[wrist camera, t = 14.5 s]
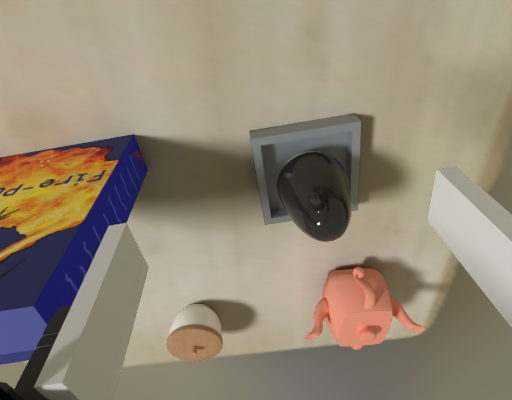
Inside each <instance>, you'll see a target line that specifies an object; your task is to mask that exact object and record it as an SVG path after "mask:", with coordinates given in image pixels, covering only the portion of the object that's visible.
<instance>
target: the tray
mask: <svg viewBox="0 0 512 400" xmlns="http://www.w3.org/2000/svg"><path fill="white" fill-rule="evenodd" d="M249 132H250V139H251V145H252V151H253V157H254V163H255V169H256V175H257V181H258V187H259V193H260V198H261V204H262V210H263V216H264V222H265V225H268V224H274V223H280V222H286V221H293V220H292V219H291V218H290V217H289V215H288V214H287V212H286V211H285V209H284V207H283V205H282V203H281V201H280V199H279V196H278V193H277V179H278V176H279V173H280V171H281V170H282V168H283V166H284V165H285V164H286V162H287V161H288V160H289V159H290V158H292V157H293V156H295V155H296V154H299V153H301V152H305V151H319V152H323V153H327V154H329V155H331V156H333V157H335V158H336V159H337V160H338V161H339V162H340V163H341V165H342V166H343V168H344V170H345V172H346V175H347V178H348V182H349V186H350V191H351V202H352V211H355V210H358V192H359V165H360V139H361V120H360V119H359V118H358V117H357V116H356V115H355V114H348V115H342V116H336V117H330V118H324V119H318V120H312V121H306V122H300V123H294V124H288V125H282V126H276V127H270V128H264V129H258V130H252V131H249Z"/></svg>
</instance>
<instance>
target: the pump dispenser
mask: <svg viewBox="0 0 512 400" xmlns="http://www.w3.org/2000/svg"><path fill="white" fill-rule="evenodd" d="M277 193H278V196H279V199H280V201H281V203H282V205H283V207H284V209H285V211H286V212H287V214H288V215H289V217H290V218H291V219H292V220H293V222H294V223H295V224H296V225H297V226H298V228H299V229H300V230H302V231H303V232H304V233H305V234H306V235H308V236H309V237H311V238H313V239H315V240H318V241H322V242H329V241H333V240H336V239H338V238H339V237H341V236H342V235H343V234H344V232H345V231H346V229H347V227H348V225H349V222H350V218H351V211H352V202H351V191H350V186H349V182H348V178H347V175H346V172H345V170H344V168H343V166H342V165H341V163H340V162H339V161H338V160H337V159H336V158H335V157H333V156H331V155H329V154H327V153H323V152H319V151H305V152H301V153H299V154H296V155H295V156H293V157H292V158H290V159H289V160H288V161H287V162H286V164H285V165H284V166H283V168H282V170H281V171H280V173H279V176H278V179H277Z"/></svg>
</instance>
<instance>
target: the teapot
mask: <svg viewBox="0 0 512 400" xmlns="http://www.w3.org/2000/svg"><path fill="white" fill-rule="evenodd" d="M393 316H395V317H396V318H397V319H398V320H399V321H400V322H401V323H402V324H403V325H404V326H405V327H407V328H408V329H410V330H413V331H425V330H426V329H425V328H424V327H422V326H420V325H418V324H416V323H414V322H413V321H412V320H411V319H410V318H409V317H408V315H407V314H406V312H405V311H404V309H403V307H402V306H401V304H400V303H399V302H398V301H397V300H396V299H395V298H393V297H392V296H390V294H389V291H388V287H387V284H386V282H385V279H384V277H383V276H382V274H381V273H380V272H378V271H377V270H376V269H372V268H361V267H356V268H355V269H347V270H331V271H330V272H329V273H328V278H327V280H326V283H325V286H324V290H323V297H322V300H320V301H319V303H318V304H317V306H316V308H315V313H314V328H313V330H312V332H311V333H309V334H308V335H307V336H306V337H305V339H312V338H316V337H318V336H319V335H320V334H321V332H322V328H323V319H324V318H325V320H326V322H327V325H328V327H329V329H330V331H331V333H332V335H333V336H334V338H335V340H336V341H337V343H338V344H339V345H340V346H351V347H352V348H353V349H361V348H362V347H363V345H372V344H379V343H381V342H382V341H383V340H384V339H385V337H386V335H387V333H388V331H389V329H390V326H391V322H392V317H393Z"/></svg>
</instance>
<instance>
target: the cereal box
mask: <svg viewBox="0 0 512 400" xmlns="http://www.w3.org/2000/svg"><path fill="white" fill-rule="evenodd" d="M147 171H148V170H147V167H146V165H145V162H144V160H143V157H142V155H141V152H140V149H139V147H138V144H137V142H136V139H135V137H134V134H133V135H127V136H122V137H116V138H110V139H104V140H99V141H93V142H87V143H81V144H76V145H70V146H64V147H58V148H53V149H47V150H41V151H35V152H30V153H24V154H18V155H12V156H7V157H1V158H0V364H7V363H13V362H20V361H26V360H30V358H31V356H32V354H33V352H34V350H36V346H37V344H38V342H39V340H40V338H42V334H43V332H44V330H45V328H46V326H47V324H48V322H49V320H50V319H51V318H52V317H53V316H54V315H55V314H56V313H57V311H58V310H59V309H60V308H61V307H65V306H72V304H73V302H74V300H75V298H76V295H77V293H78V291H79V289H80V287H81V285H82V282H83V280H84V278H85V276H86V274H87V272H88V270H89V267H90V265H91V263H92V261H93V259H94V257H95V254H96V252H97V250H98V248H99V246H100V244H101V242H102V239H103V237H104V235H105V233H106V231H107V229H108V226H111V225H117V224H123V223H126V222H127V220H128V217H129V215H130V213H131V210H132V208H133V205H134V203H135V200H136V198H137V195H138V193H139V190H140V188H141V185H142V183H143V181H144V178H145V176H146V173H147Z"/></svg>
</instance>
